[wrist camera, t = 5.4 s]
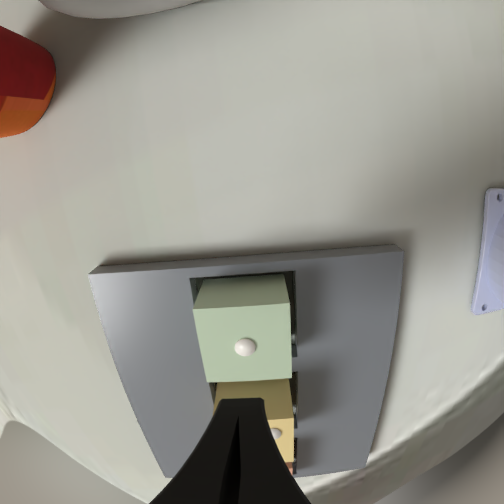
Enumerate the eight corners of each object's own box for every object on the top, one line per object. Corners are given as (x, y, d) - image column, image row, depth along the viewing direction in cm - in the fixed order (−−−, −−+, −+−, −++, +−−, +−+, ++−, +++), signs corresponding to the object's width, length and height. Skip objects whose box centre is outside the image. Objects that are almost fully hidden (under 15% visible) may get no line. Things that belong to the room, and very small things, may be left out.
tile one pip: (283, 273, 16) (290, 304, 13) (286, 341, 17) (292, 379, 14) (203, 279, 16) (192, 310, 13) (214, 345, 18) (206, 383, 14)
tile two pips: (288, 377, 17) (293, 419, 14) (289, 423, 18) (293, 462, 15) (217, 381, 17) (211, 423, 14) (226, 426, 19) (223, 466, 15)
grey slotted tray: (394, 244, 16) (404, 251, 15) (361, 456, 21) (364, 467, 20) (97, 266, 16) (87, 274, 15) (167, 466, 22) (165, 477, 21)
